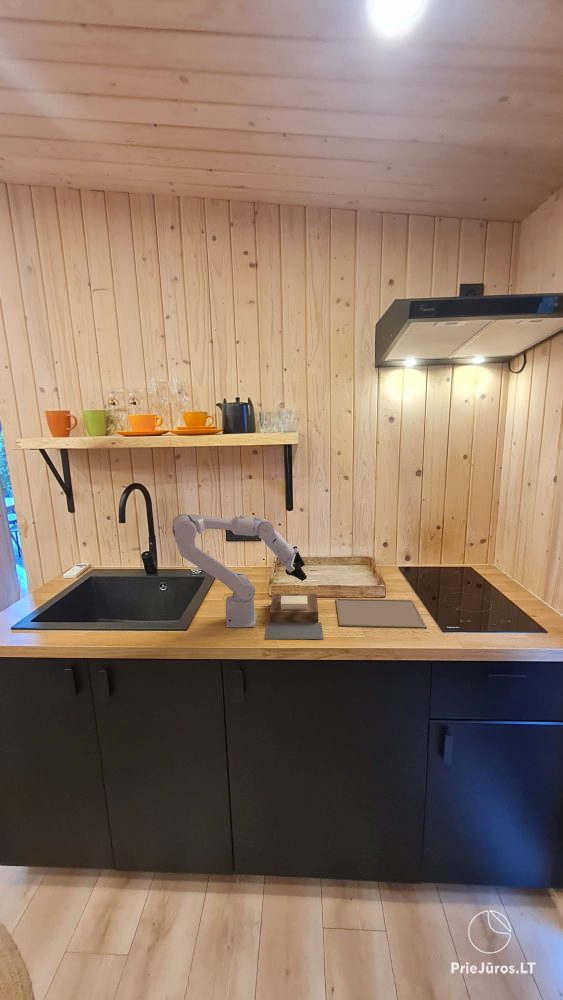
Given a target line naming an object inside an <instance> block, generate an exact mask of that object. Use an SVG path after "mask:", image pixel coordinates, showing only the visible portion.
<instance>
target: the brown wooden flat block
mask: <svg viewBox="0 0 563 1000" xmlns="http://www.w3.org/2000/svg"><path fill="white" fill-rule="evenodd" d="M271 596H272V597H271V603H270V610H269V614H270V615H269V616H270V617H269V619H270V621H269V622H319V605H318V596H317V593H272V595H271ZM281 596H307V602H308V609H281Z"/></svg>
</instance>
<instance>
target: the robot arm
mask: <svg viewBox="0 0 563 1000" xmlns="http://www.w3.org/2000/svg"><path fill="white" fill-rule="evenodd" d="M205 530H219V531H223V530H224V531H225V530H226V531H231V532H232V533H233V535H237V536H246V537H247V536H248V537H255V536H257V537H258V538H259V539H261V540H262V541H263V542H264V544H265V545H266V547H267V548H269V549H270V550H271V552H273V554H274V555H275V556H276V557H277V558H278V559H279V560H280V562H281V563H282V564H283V565H284V567H285V574H286V575H287V576H291V577H292V576H293V577H295V578H296V579H298V580H300V582H301V581H302V582H303V581H305V580H306V579H308V576H307V574H306V573H305V571H304V569H303V567H304V566H305V565H306V564H305V561H304V560H303V558H302V557H301V556H302V555H300V554H301V553H300V551H299V548H298V546H296V545H295V546H293V545H292V544H291V543H290V542H287V540H286V539H285V538H284V537H283V536H282V535H281V534H280V533H279V532H278V531H277V530H276V528H275V527H274V525H273V524H272V523H270V522H269V521H268V520H267V519H265V518H263V517H260V516H259V517H254V518H252V517H246V516H245V515H243V514H240V515H239V516H235V517H233V518H232V519H228V518H227V519H226V518H221V517H215V516H208V515H201V514H192V513H191V514H186V513H181V514H178V515H176V516H175V517H174V519H173V520H172V534H173V537H174V541H175V543H176V545H177V549H178V552H179V554H180V556H181V557H182V558H183V559H185V560H187V561H188V562H190V563H191V564H193V565H194V566H196V567H197V568H199V569H201V570H202V571H203V572H205V573H207V574H208V575H210V576H211V577H213V578H215V580H217V581H219V582H221V584H223V585H225V586H226V587H227V588H228V589H229V590H230V591H231V592H233V593H232V595H231V596H227V597H226V598H225V623H226V624H225V627H226V628H255V626H256V621H257V617H258V614H255V599H254V598H255V594H256V587H255V585H254V584H253V583H252V582H251V581H250V580H249V577H248V575H246V574H244V573H239V572H237V571H235V570H231V569H230V568H229V567H227V566H226V565H225V564H223V563H221V562H219V560H217V559H216V558H214V557H213V556H211V555H210V554H208V553H206V552H205V551H204V550H202V549H201V548H199V547H198V546H197V545H196V543H195V540H196V537H197V533H198V535H201V534H202V533H203V532H204V531H205Z"/></svg>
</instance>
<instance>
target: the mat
mask: <svg viewBox="0 0 563 1000" xmlns="http://www.w3.org/2000/svg"><path fill="white" fill-rule="evenodd" d="M266 623H267V624H266V630H265V639H264V640H295V639H315V641H316V639H319V640H322V641H323V640H324V633H323V625H322V624H323V623H322V622H320V621H318V622H270V621H269V622H266Z"/></svg>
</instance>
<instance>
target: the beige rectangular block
mask: <svg viewBox="0 0 563 1000" xmlns="http://www.w3.org/2000/svg"><path fill="white" fill-rule="evenodd" d="M281 609H308V602H307V596H281Z"/></svg>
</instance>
